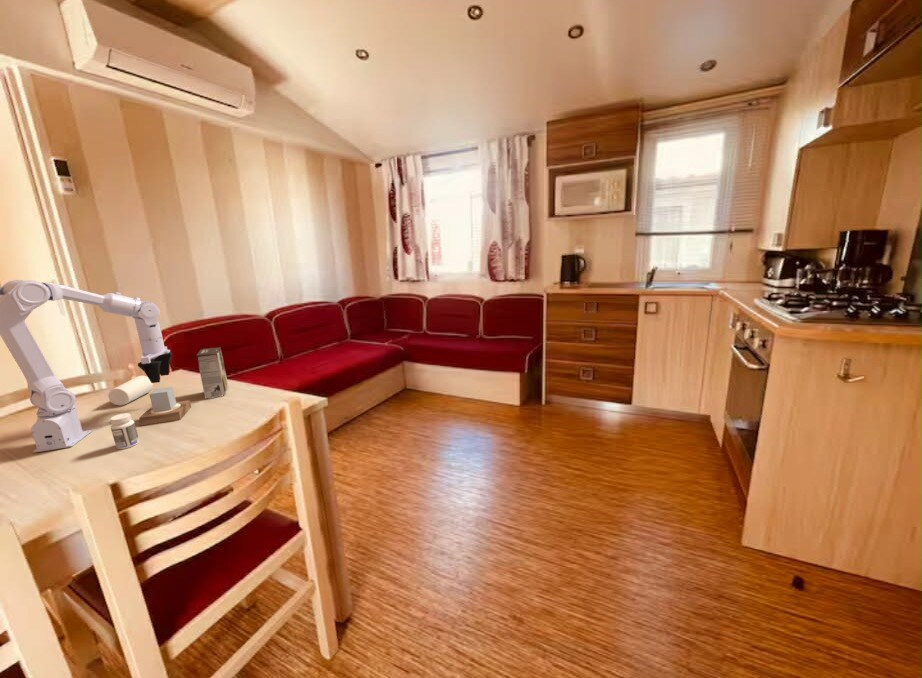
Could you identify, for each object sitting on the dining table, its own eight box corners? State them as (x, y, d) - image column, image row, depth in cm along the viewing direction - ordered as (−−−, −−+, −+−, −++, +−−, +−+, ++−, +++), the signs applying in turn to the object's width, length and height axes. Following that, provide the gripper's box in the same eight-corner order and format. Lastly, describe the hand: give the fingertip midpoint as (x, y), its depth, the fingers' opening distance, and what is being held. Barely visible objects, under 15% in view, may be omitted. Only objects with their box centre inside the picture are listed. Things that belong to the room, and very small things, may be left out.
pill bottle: (137, 438, 103) (130, 410, 101) (141, 444, 100) (134, 415, 98) (114, 446, 100) (106, 417, 98) (118, 451, 97) (109, 422, 95)
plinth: (180, 419, 114) (178, 411, 114) (141, 425, 111) (139, 417, 110) (191, 407, 123) (189, 399, 123) (155, 412, 120) (153, 404, 120)
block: (171, 409, 115) (167, 391, 114) (153, 412, 114) (149, 394, 112) (176, 404, 119) (172, 386, 118) (159, 406, 118) (155, 389, 117)
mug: (134, 399, 126) (157, 386, 138) (119, 384, 125) (144, 372, 136) (109, 414, 127) (135, 400, 138) (94, 399, 125) (121, 386, 136)
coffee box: (209, 390, 138) (200, 349, 134) (229, 387, 140) (221, 346, 137) (204, 399, 130) (195, 355, 126) (225, 395, 132) (217, 352, 129)
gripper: (156, 342, 114) (166, 384, 117) (174, 332, 127) (182, 370, 130) (128, 344, 111) (139, 387, 115) (149, 334, 125) (158, 373, 128)
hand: (160, 378), depth 122 cm, fingers open, 7 cm apart
